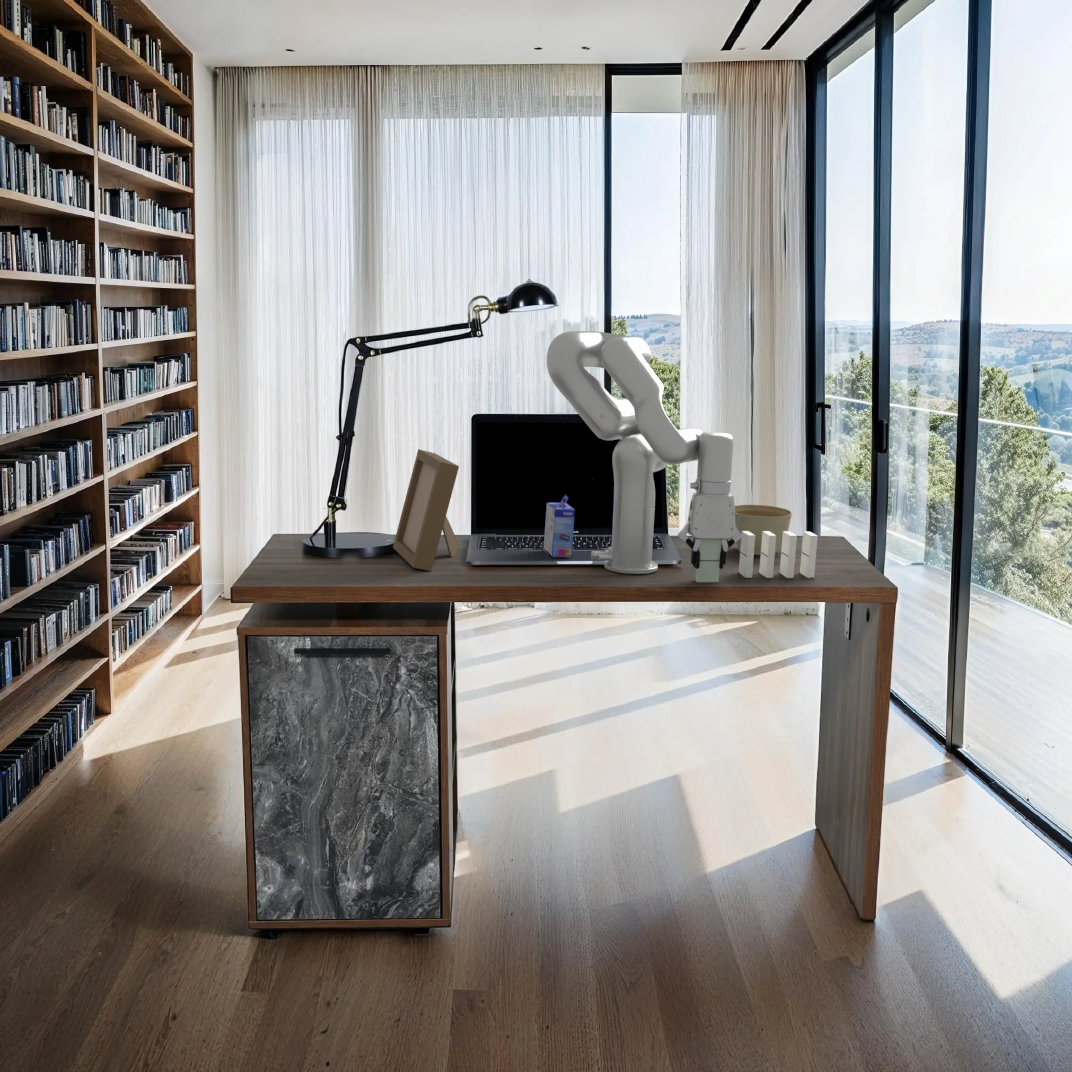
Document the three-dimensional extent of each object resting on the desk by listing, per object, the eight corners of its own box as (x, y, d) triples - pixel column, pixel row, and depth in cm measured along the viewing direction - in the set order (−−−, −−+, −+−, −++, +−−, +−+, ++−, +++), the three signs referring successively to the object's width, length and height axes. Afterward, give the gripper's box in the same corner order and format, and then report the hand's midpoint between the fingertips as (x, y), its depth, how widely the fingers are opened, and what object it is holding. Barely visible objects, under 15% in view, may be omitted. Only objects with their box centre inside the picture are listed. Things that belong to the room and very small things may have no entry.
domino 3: (766, 577, 264) (769, 535, 262) (759, 572, 268) (762, 531, 266) (772, 577, 264) (776, 535, 262) (765, 572, 269) (769, 531, 267)
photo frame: (413, 571, 257) (416, 461, 252) (392, 551, 277) (395, 449, 272) (476, 569, 261) (480, 462, 257) (451, 549, 282) (455, 449, 277)
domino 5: (807, 577, 265) (811, 535, 263) (799, 572, 270) (803, 531, 268) (814, 577, 265) (817, 535, 263) (806, 572, 270) (809, 531, 268)
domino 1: (718, 582, 258) (721, 539, 256) (697, 582, 257) (699, 538, 255) (716, 580, 259) (719, 537, 257) (695, 580, 259) (698, 537, 256)
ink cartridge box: (573, 558, 276) (576, 499, 273) (551, 558, 275) (553, 499, 272) (564, 549, 285) (567, 492, 282) (543, 549, 284) (545, 492, 281)
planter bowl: (712, 546, 295) (715, 505, 293) (764, 543, 302) (768, 503, 299) (747, 560, 281) (750, 517, 279) (801, 556, 287) (804, 514, 285)
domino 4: (786, 577, 264) (790, 535, 262) (779, 572, 269) (782, 531, 267) (793, 577, 264) (797, 535, 262) (786, 572, 269) (789, 531, 267)
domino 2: (745, 577, 263) (748, 535, 261) (738, 572, 268) (741, 530, 266) (752, 577, 263) (755, 535, 261) (745, 572, 268) (748, 530, 266)
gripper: (680, 490, 249) (675, 571, 253) (755, 491, 251) (749, 571, 255) (671, 484, 256) (667, 563, 260) (744, 485, 259) (739, 563, 262)
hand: (707, 566), depth 257 cm, fingers closed on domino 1, 4 cm apart
